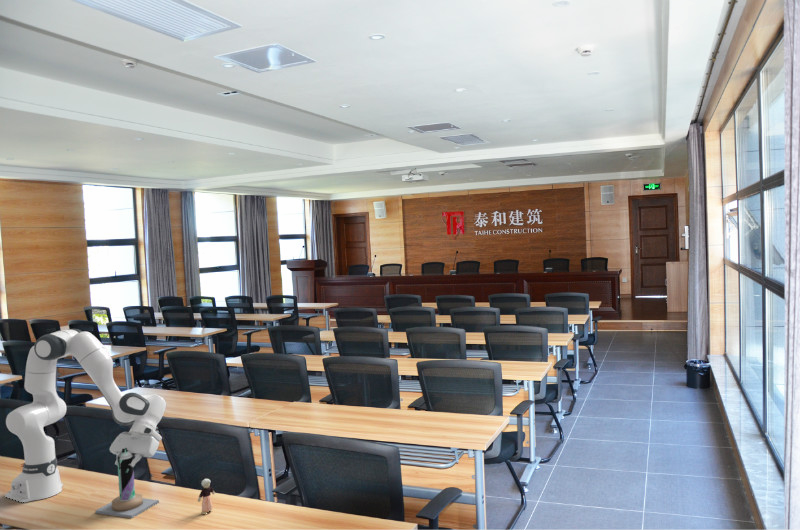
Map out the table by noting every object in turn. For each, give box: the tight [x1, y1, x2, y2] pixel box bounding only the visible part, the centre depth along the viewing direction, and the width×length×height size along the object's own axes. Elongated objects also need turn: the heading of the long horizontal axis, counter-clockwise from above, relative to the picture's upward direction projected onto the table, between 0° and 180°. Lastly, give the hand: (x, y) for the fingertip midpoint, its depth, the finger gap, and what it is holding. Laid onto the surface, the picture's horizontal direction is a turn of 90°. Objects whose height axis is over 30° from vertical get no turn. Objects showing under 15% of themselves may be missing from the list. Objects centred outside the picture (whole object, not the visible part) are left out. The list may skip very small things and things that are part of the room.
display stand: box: [95, 492, 160, 519], centre depth 235 cm, size 18×14×4 cm
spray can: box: [116, 448, 136, 502], centre depth 234 cm, size 6×6×20 cm
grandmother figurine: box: [197, 478, 216, 515], centre depth 227 cm, size 8×4×13 cm, turn 160°
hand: (124, 465), depth 234 cm, fingers closed on spray can, 5 cm apart
